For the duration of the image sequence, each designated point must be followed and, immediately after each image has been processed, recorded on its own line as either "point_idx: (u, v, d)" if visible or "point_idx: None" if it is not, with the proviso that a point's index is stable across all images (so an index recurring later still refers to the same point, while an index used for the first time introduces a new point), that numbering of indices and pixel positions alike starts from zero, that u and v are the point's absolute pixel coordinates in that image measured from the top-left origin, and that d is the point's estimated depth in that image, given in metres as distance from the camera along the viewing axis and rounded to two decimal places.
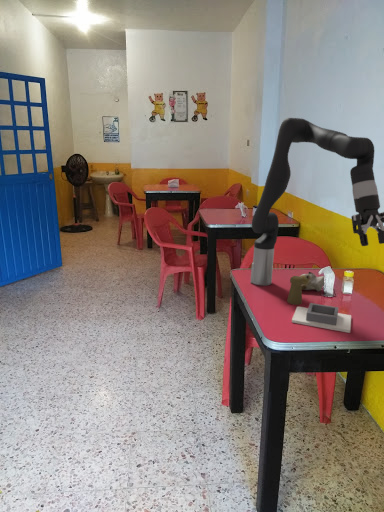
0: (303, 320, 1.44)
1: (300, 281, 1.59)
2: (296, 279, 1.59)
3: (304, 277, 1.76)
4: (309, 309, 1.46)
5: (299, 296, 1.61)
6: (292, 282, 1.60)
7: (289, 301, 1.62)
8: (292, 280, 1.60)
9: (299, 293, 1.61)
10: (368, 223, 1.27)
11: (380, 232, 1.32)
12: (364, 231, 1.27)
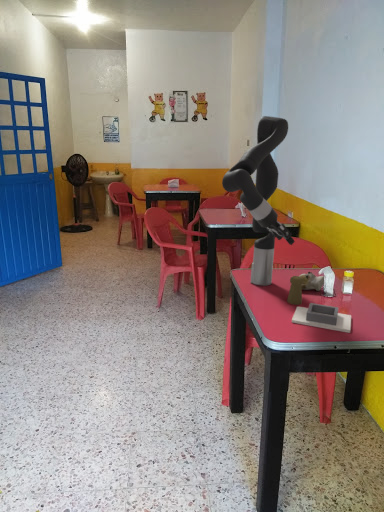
0: (303, 320, 1.44)
1: (300, 281, 1.59)
2: (296, 279, 1.59)
3: (304, 277, 1.76)
4: (309, 309, 1.46)
5: (299, 296, 1.61)
6: (292, 282, 1.60)
7: (289, 301, 1.62)
8: (292, 280, 1.60)
9: (299, 293, 1.61)
10: (269, 230, 1.54)
11: None
12: (271, 232, 1.57)
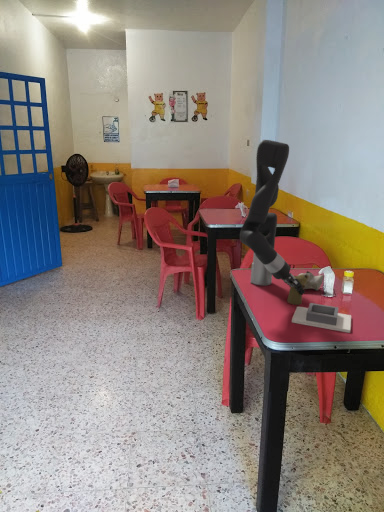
0: (303, 320, 1.44)
1: (300, 281, 1.59)
2: None
3: (302, 276, 1.77)
4: (309, 309, 1.46)
5: (299, 296, 1.61)
6: None
7: (289, 301, 1.62)
8: None
9: (299, 293, 1.61)
10: (284, 281, 1.62)
11: None
12: (287, 284, 1.64)
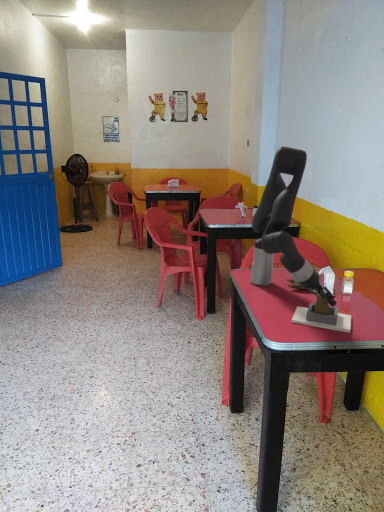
0: (303, 320, 1.44)
1: None
2: None
3: None
4: (309, 309, 1.46)
5: (326, 312, 1.43)
6: (318, 296, 1.43)
7: None
8: None
9: (326, 308, 1.43)
10: (309, 289, 1.45)
11: None
12: (311, 291, 1.48)
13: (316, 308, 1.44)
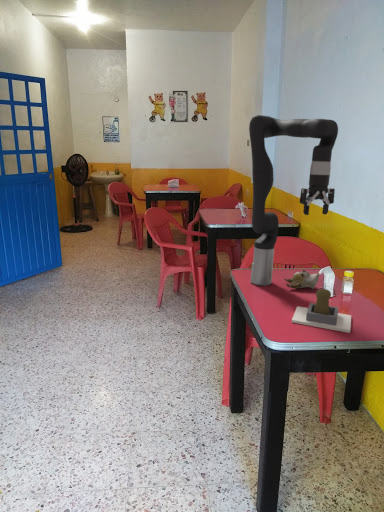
0: (303, 320, 1.44)
1: (328, 295, 1.42)
2: (323, 293, 1.42)
3: (299, 275, 1.78)
4: (309, 309, 1.46)
5: (326, 312, 1.43)
6: (318, 296, 1.43)
7: None
8: (318, 294, 1.43)
9: (326, 308, 1.43)
10: (313, 197, 1.54)
11: (325, 204, 1.58)
12: (307, 203, 1.54)
13: (316, 308, 1.44)
